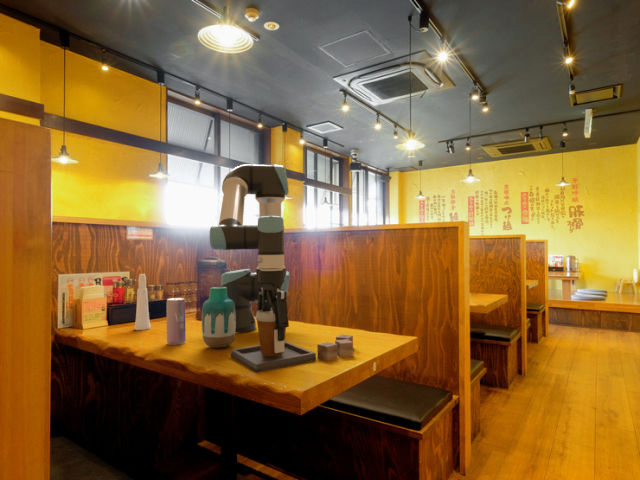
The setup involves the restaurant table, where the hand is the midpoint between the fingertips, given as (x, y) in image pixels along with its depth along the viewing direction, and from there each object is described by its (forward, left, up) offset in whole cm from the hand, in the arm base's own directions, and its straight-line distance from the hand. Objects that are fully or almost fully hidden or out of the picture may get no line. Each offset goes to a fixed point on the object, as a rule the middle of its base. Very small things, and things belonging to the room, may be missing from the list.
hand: (272, 348), depth 112 cm
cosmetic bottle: (-70, -23, -3) cm, 74 cm away
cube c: (+4, +23, -3) cm, 24 cm away
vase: (-22, -8, -3) cm, 24 cm away
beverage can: (-36, -18, -3) cm, 40 cm away
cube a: (+9, +13, -3) cm, 16 cm away
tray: (0, 0, -3) cm, 3 cm away
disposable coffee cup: (0, 0, -1) cm, 1 cm away
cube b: (+9, +19, -3) cm, 21 cm away
